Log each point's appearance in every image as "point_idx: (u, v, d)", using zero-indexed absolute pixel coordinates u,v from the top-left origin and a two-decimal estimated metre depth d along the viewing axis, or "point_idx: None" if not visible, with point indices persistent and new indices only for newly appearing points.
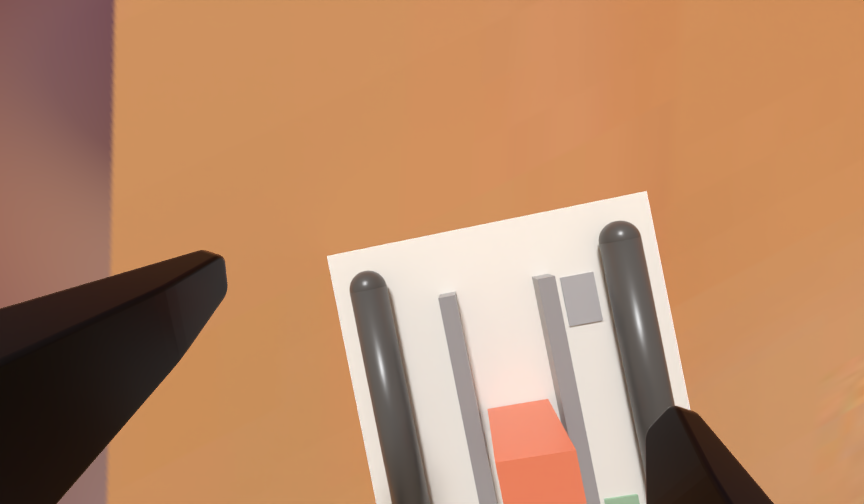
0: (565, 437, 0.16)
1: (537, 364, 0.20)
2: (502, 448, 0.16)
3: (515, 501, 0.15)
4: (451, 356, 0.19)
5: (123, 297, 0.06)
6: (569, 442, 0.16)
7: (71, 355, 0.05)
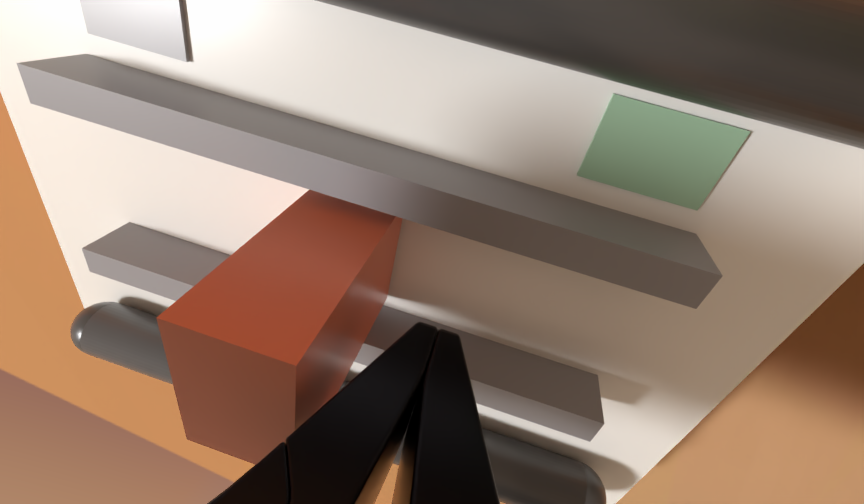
0: None
1: None
2: None
3: None
4: None
5: (399, 392, 0.06)
6: (189, 295, 0.06)
7: (379, 465, 0.05)
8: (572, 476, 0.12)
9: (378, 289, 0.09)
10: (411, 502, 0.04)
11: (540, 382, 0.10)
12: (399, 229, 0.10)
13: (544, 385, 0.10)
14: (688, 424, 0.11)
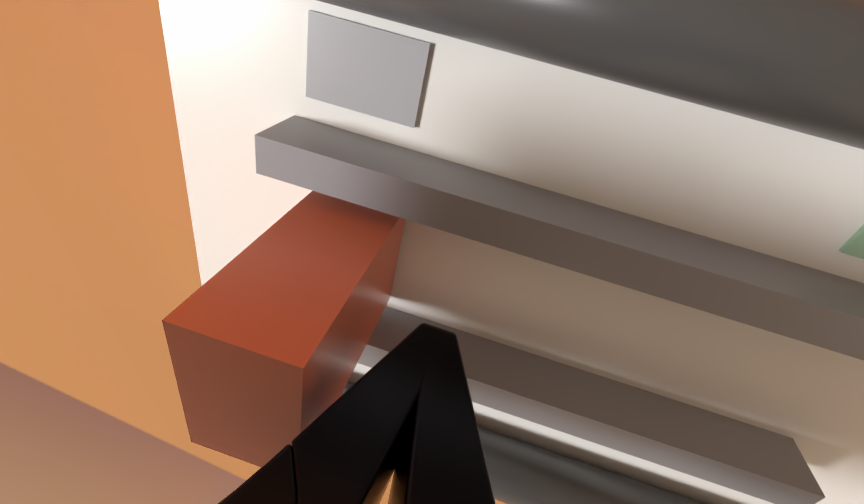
0: None
1: None
2: None
3: None
4: (360, 363, 0.10)
5: (404, 394, 0.06)
6: (194, 297, 0.06)
7: (384, 467, 0.05)
8: None
9: (381, 290, 0.09)
10: (406, 500, 0.04)
11: (745, 450, 0.10)
12: (402, 230, 0.10)
13: (751, 453, 0.10)
14: None
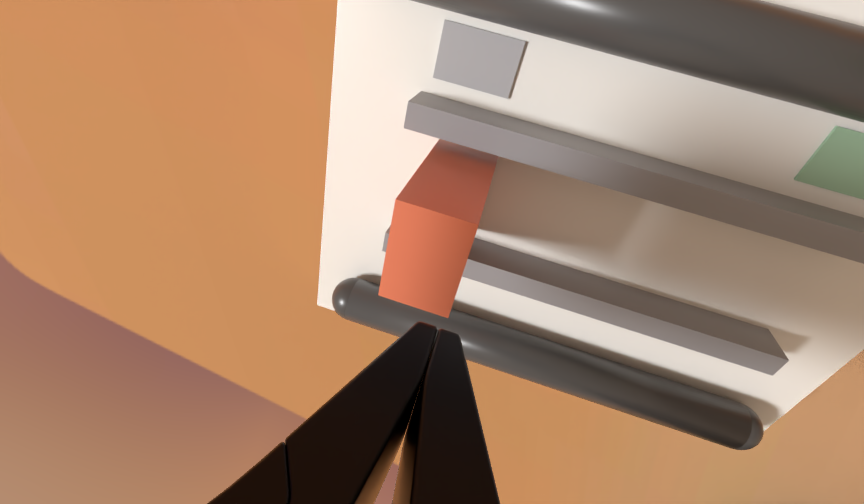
0: None
1: (536, 168, 0.13)
2: None
3: (436, 300, 0.11)
4: None
5: (399, 392, 0.06)
6: None
7: (379, 465, 0.05)
8: (738, 410, 0.15)
9: None
10: (411, 502, 0.04)
11: (733, 332, 0.14)
12: None
13: (737, 334, 0.14)
14: (835, 366, 0.15)
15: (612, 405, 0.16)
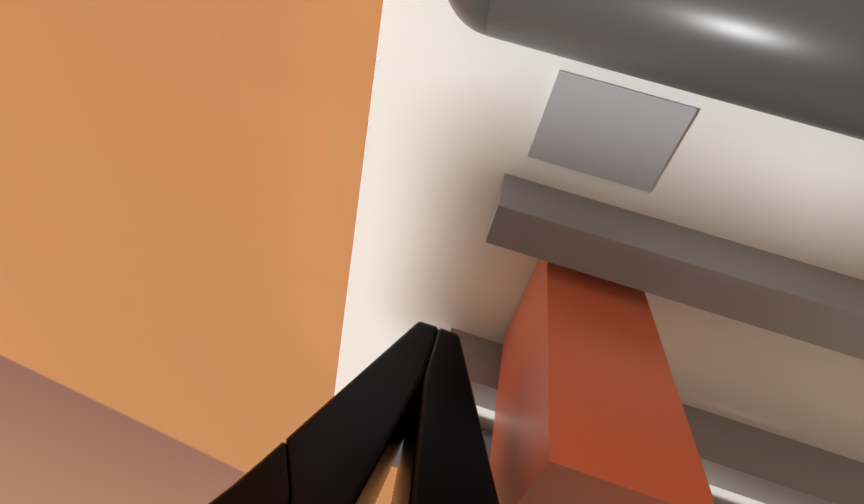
0: (545, 396, 0.06)
1: None
2: None
3: None
4: None
5: (400, 392, 0.06)
6: (546, 421, 0.05)
7: (379, 466, 0.05)
8: None
9: None
10: (410, 502, 0.04)
11: None
12: None
13: None
14: None
15: None
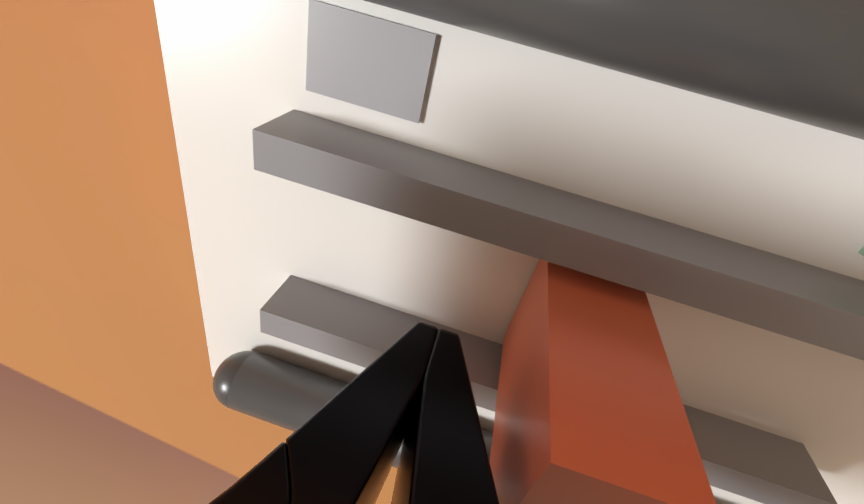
0: (546, 397, 0.06)
1: None
2: None
3: None
4: (361, 365, 0.10)
5: (400, 392, 0.06)
6: (547, 422, 0.05)
7: (379, 466, 0.05)
8: None
9: None
10: (410, 502, 0.04)
11: (756, 455, 0.10)
12: None
13: (761, 459, 0.10)
14: None
15: None
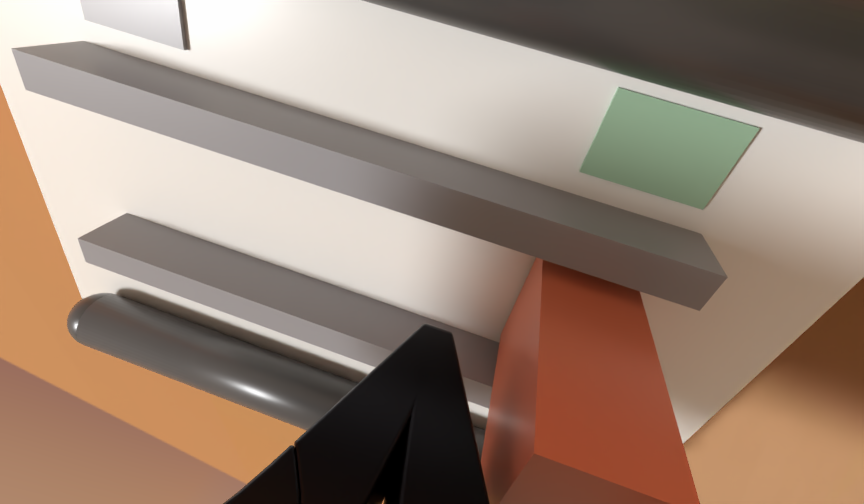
0: (533, 390, 0.06)
1: None
2: None
3: None
4: (174, 293, 0.11)
5: (407, 395, 0.06)
6: (533, 415, 0.05)
7: (387, 468, 0.05)
8: None
9: None
10: (400, 498, 0.04)
11: None
12: None
13: None
14: (689, 428, 0.11)
15: None
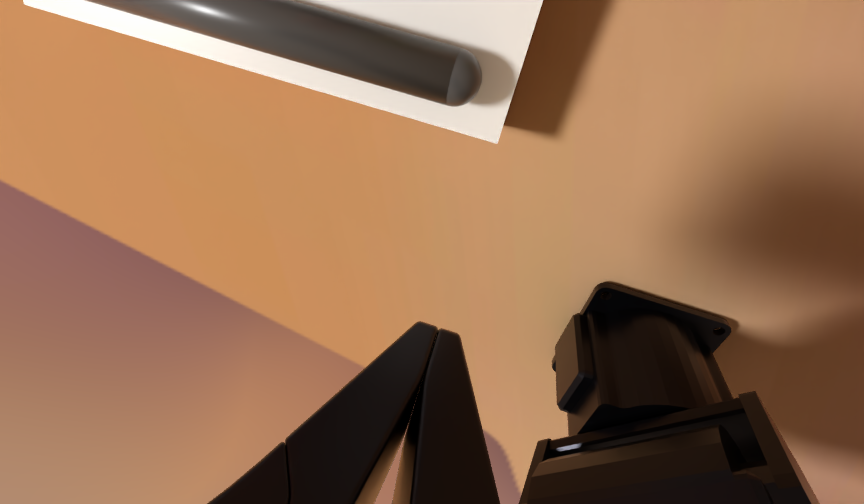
0: None
1: None
2: None
3: None
4: None
5: (399, 392, 0.06)
6: None
7: (378, 466, 0.05)
8: (447, 45, 0.13)
9: None
10: (411, 502, 0.04)
11: None
12: None
13: None
14: None
15: (304, 48, 0.13)
